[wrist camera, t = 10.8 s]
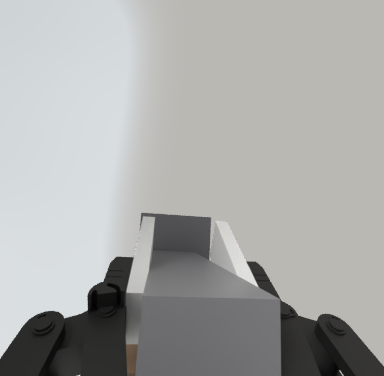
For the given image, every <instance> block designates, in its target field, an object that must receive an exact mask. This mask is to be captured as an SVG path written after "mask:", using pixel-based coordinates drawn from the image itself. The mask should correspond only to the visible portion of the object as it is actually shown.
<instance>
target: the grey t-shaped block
mask: <svg viewBox="0 0 384 376" xmlns="http://www.w3.org/2000/svg"><path fill="white" fill-rule="evenodd" d="M143 216H146V217H155V224H154V238H153V252H152V260H151V264H150V268H149V273H148V275H147V279H146V283H145V287H144V292H143V296H142V306H141V317H140V328H139V339H138V350H137V361H136V372H135V376H281V321H280V299H279V298H277V297H275V296H273V295H271V294H270V293H268V292H266V291H264V290H262V289H260V288H259V287H257V286H255V285H253V284H251V283H250V282H248V281H246V280H244V279H242V278H241V277H239V276H236V275H235V274H233V273H231V272H229V271H227V270H226V269H224V268H222V267H220V266H218V265H217V264H215V263H213V262H211V261H210V260H209V251H210V227H211V218H209V217H194V216H180V215H165V214H151V213H141V223H142V219H143ZM140 228H141V224H140Z"/></svg>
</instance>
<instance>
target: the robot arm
mask: <svg viewBox="0 0 384 376" xmlns="http://www.w3.org/2000/svg"><path fill="white" fill-rule="evenodd" d="M154 224H155V217H146V216H143V219H142V223H141V228H140V232H139V237H138V241H137V246H136V251H135V255H134V257H133V258H132V257H116V258H115V259H114V260H113V261H112V262H111V263H110V265H109V268H108V271H107V273H106V277H105V279H104V282H101V283H99V284H97V285H95V286H94V287H93V288H91V290H90V291H89V293H88V311H86V312H84V313H82V314H79V315H76V316H72V317H68V318H64V317H63V315H62V314H60V313H59V312H55V311H48V312H43V313H41V314H37V315H36V316H34V317H32V318H31V319H29V320H28V321H27V323H25V325H24V326H23V327H22V328H21V330H20V331H19V333H18V334H17V336H16V337H15V339H14V340H13V341H12V343H11V344H10V346H9V347H8V349H7V350H6V351H5V353H4V354H3V356H2V357H1V359H0V376H77V375H80V374H81V375H80V376H127V356H126V344H138V339H139V328H140V317H141V306H142V296H143V292H144V287H145V283H146V279H147V275H148V273H149V268H150V264H151V260H152V252H153V238H154ZM210 258H211V262H213V263H215V264H217V265H218V266H220V267H222V268H224V269H226V270H227V271H229V272H231V273H233V274H235V275H236V276H239V277H241V278H242V279H244V280H246V281H248V282H250V283H251V284H253V285H255V286H257V287H259V288H260V289H262V290H264V291H266V292H268V293H270V294H271V295H273V296H275V297H277V298H279V299H280V297H279V295H278V294H277V292H276V290H275V288H274V287H273V285H272V283H271V282H270V280H269V278H268V276H267V274H266V273H265V271H264V269H263V268H262V267H261V266H260V265H259V264H258V263H256V262H247V261H246V260H245V258H244V256H243V254H242V252H241V250H240V248H239V246H238V244H237V242H236V240H235V238H234V236H233V234H232V232H231V229H230V227H229V225H228V223H227V222H226V221H216V222H215V228H214V234H213V240H212V246H211V252H210ZM280 321H281V376H342V375H341V373H340V372H339V370H341V372H342V373H343V375H344V376H384V366H383V365H382V364H381V363H380V362H379V361H378V359H377V358H376V357H375V356H374V355H373V353H372V352H371V351H370V350H369V349H368V347H367V346H366V345H365V344H364V343H363V342H362V340H361V339H360V338H359V337H358V336H357V334H356V333H355V332H354V331H353V330H352V329H351V327H350V326H349V325H347V323H346V322H344V321H343V320H341V319H340V318H338V317H336V316H334V315H330V314H322V315H320V316H319V317H318V320H317V321H314V320H311V319H307V318H304V317H301V316H298V314H297V313H296V311H295V310H294V309H293V308H292V307H291V306H290V305H288V304H286V303H285V302H282V301H281V299H280Z"/></svg>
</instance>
